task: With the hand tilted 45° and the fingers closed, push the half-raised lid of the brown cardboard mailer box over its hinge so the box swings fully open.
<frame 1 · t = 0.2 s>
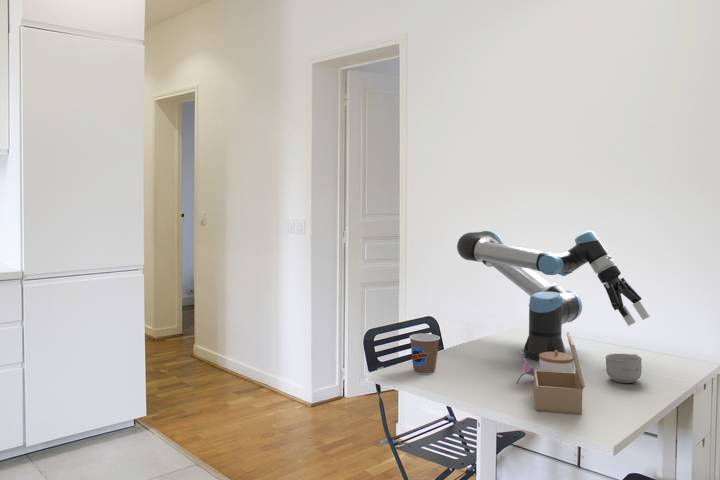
hand: (639, 321, 217), 15 cm above the table, tool tilted 35°, fingers open, 13 cm apart
lidded jar: (555, 379, 200), on the table
mailer box: (556, 403, 177), on the table
teacup: (626, 380, 199), on the table
coffee cup: (424, 372, 208), on the table
lily: (529, 384, 196), on the table
lid: (575, 359, 175), point 13 cm above the table, hinge at 75.0°
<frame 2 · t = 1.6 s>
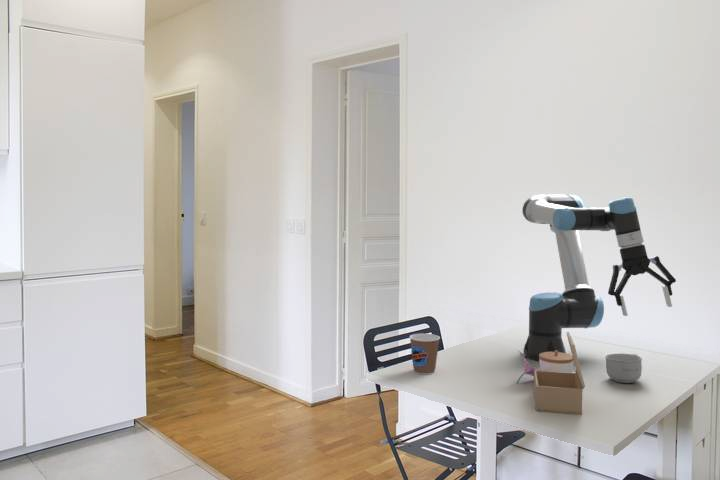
hand: (647, 311, 195), 23 cm above the table, tool pointing down, fingers open, 13 cm apart
nothing on the table moved.
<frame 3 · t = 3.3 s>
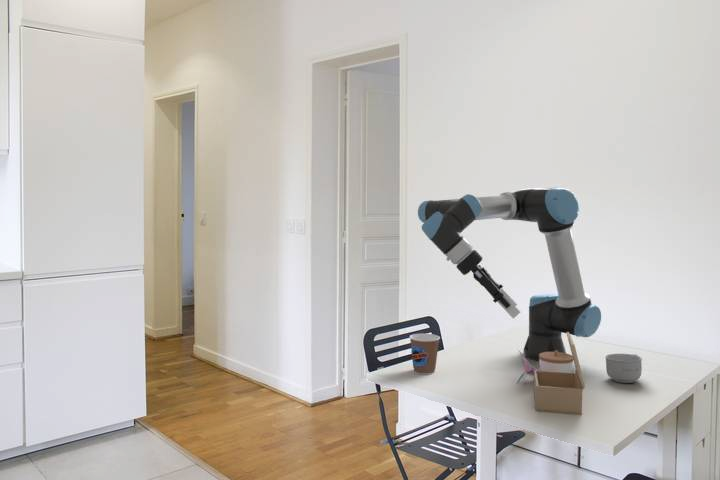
hand: (515, 311, 178), 26 cm above the table, tool tilted 45°, fingers open, 13 cm apart
nothing on the table moved.
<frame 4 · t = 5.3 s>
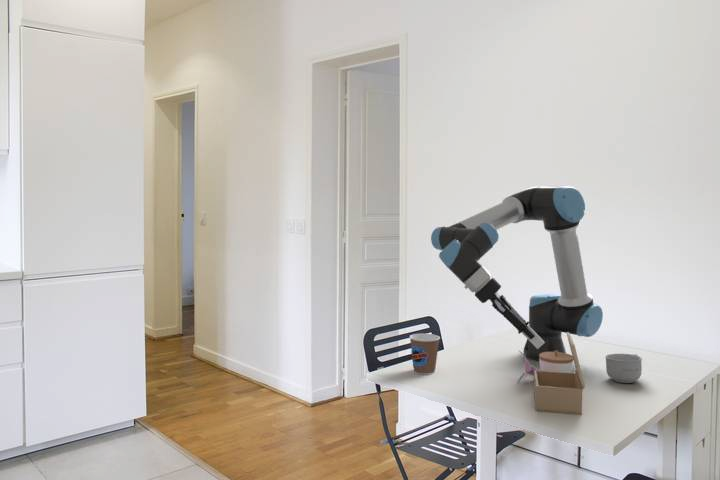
hand: (540, 345, 176), 17 cm above the table, tool tilted 45°, fingers closed
nothing on the table moved.
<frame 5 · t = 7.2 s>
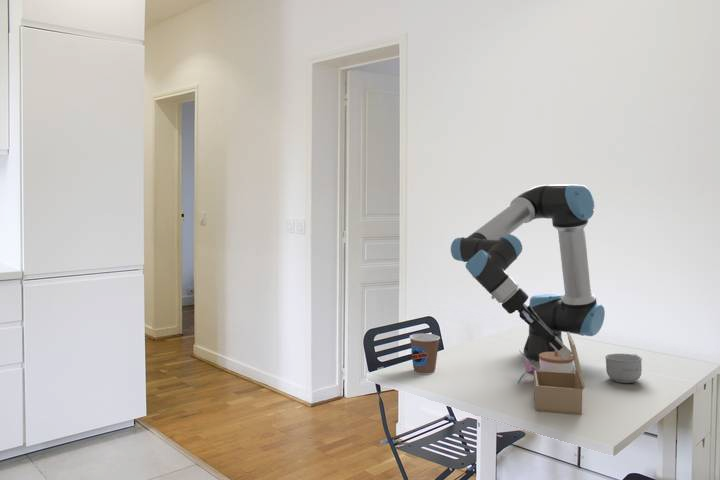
hand: (568, 356, 175), 14 cm above the table, tool tilted 45°, fingers closed
lid: (575, 359, 175), point 13 cm above the table, hinge at 75.6°, touching gripper
everything else where it was.
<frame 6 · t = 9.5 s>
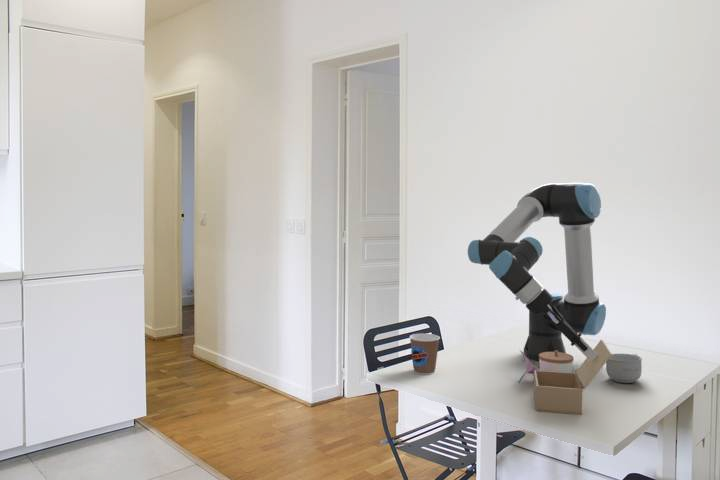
hand: (593, 357, 173), 14 cm above the table, tool tilted 45°, fingers closed
lid: (592, 363, 174), point 12 cm above the table, hinge at 123.7°, touching gripper
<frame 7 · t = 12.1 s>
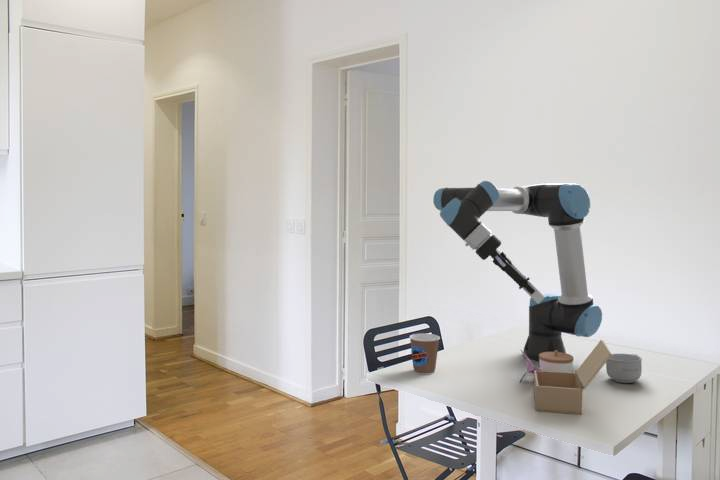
hand: (541, 300, 178), 29 cm above the table, tool tilted 45°, fingers closed
lid: (592, 363, 174), point 12 cm above the table, hinge at 123.7°
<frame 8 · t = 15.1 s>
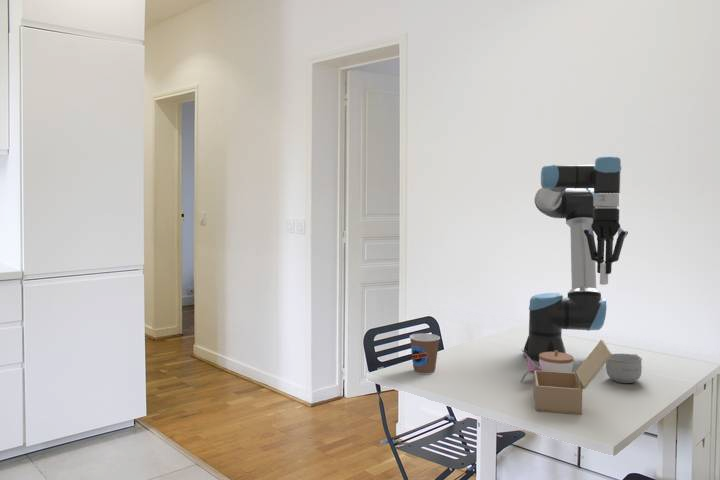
hand: (603, 284, 190), 32 cm above the table, tool pointing down, fingers closed
at the end: lid at +124° (first picture: +75°); the gripper is holding nothing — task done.
